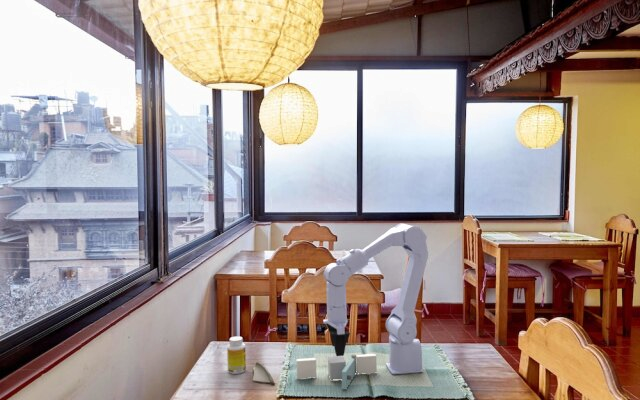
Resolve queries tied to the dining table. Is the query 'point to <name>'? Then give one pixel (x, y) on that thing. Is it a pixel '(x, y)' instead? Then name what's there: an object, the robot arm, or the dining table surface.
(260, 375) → the ceramic fragment
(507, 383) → the dining table surface
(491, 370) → the dining table surface
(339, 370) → the pale grey block
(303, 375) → the frame
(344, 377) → the door
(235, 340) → the supplement bottle
